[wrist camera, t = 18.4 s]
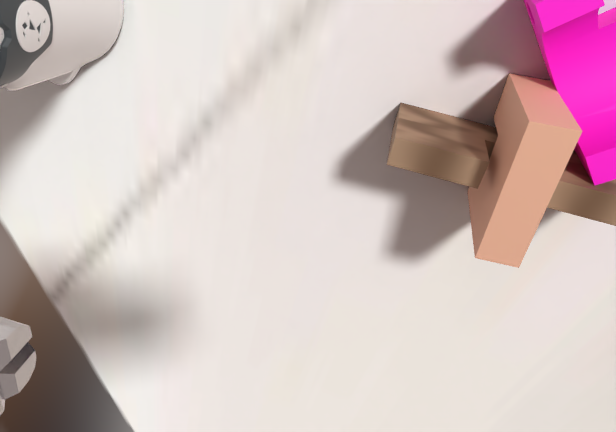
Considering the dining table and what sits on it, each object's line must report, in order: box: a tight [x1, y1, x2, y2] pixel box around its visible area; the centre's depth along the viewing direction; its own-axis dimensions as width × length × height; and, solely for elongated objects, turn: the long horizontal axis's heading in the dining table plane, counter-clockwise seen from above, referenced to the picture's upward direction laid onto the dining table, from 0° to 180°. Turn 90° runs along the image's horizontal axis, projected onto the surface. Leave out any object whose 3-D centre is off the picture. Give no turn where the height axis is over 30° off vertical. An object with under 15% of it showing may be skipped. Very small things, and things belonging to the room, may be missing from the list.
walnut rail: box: [387, 103, 616, 226], centre depth 43 cm, size 20×2×8 cm, turn 79°
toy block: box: [524, 0, 616, 186], centre depth 38 cm, size 15×6×8 cm, turn 30°
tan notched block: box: [468, 73, 582, 268], centre depth 42 cm, size 4×12×11 cm, turn 173°
